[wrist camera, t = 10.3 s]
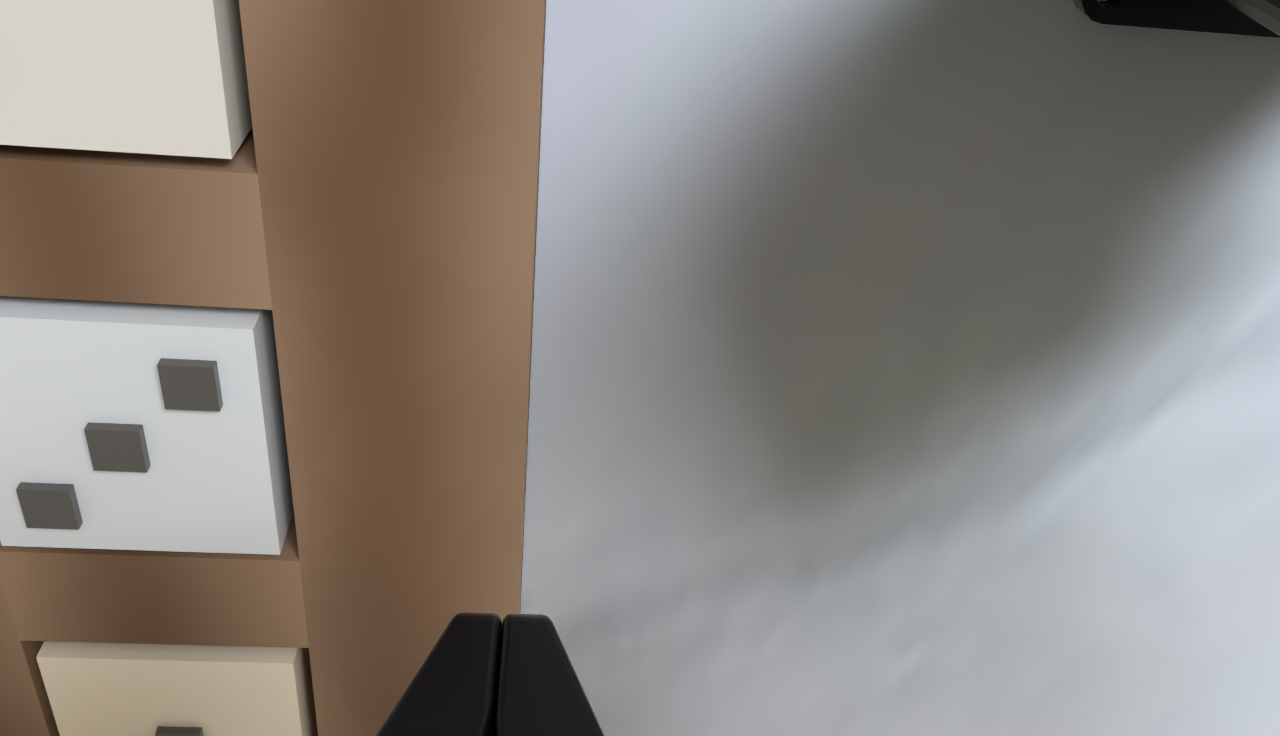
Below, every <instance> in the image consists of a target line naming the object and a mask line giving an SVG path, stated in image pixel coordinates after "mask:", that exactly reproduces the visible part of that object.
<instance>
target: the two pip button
mask: <svg viewBox="0 0 1280 736" xmlns="http://www.w3.org/2000/svg"><path fill="white" fill-rule="evenodd" d="M251 128H252V118H251V109H250V100H249V90H248V81H247V72H246V63H245V53H244V44H243V35H242V25H241V16H240V7H239V0H0V145H15V146H30V147H46V148H62V149H78V150H94V151H110V152H126V153H142V154H158V155H174V156H190V157H206V158H222V159H232V158H233V157H234V155H235V153H236V152H237V150H238V149H239V147H240V145H241V144H242V142H243V141H244V139H245V137H246V136H247V134H248V133H249V131H250V129H251Z"/></svg>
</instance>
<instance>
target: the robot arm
mask: <svg viewBox="0 0 1280 736" xmlns="http://www.w3.org/2000/svg"><path fill="white" fill-rule="evenodd" d="M1074 1H1075V4H1076V7H1077V8H1078V9H1079V10H1080V11H1081V12H1082V13H1083V14H1085V15H1086V16H1087V17H1088V18H1090V19H1091V20H1092V21H1095V22H1098V23H1102V24H1111V25H1124V26H1137V27H1150V28H1162V29H1175V30H1188V31H1201V32H1214V33H1226V34H1239V35H1252V36H1265V37H1278V38H1280V0H1107V1H1103V2H1097V0H1074ZM376 736H604V734H603V732H602V730H601V728H600V725H599V723H598V721H597V719H596V717H595V715H594V712H593V710H592V708H591V706H590V704H589V701H588V699H587V697H586V695H585V693H584V690H583V688H582V686H581V684H580V682H579V680H578V677H577V675H576V673H575V671H574V669H573V666H572V664H571V662H570V660H569V658H568V655H567V653H566V651H565V649H564V647H563V644H562V642H561V640H560V638H559V636H558V634H557V631H556V629H555V627H554V625H553V623H552V621H551V620H550V619H549V618H548V617H547V616H545V615H531V614H508V615H507V616H505V617H504V619H503V622H502V620H501V618H500V616H498V615H497V614H494V613H458V614H456V615H455V616H454V617H453V618H452V619H451V620H450V622H449V623H448V625H447V626H446V628H445V629H444V631H443V633H442V634H441V636H440V637H439V639H438V640H437V642H436V643H435V645H434V646H433V648H432V649H431V651H430V653H429V654H428V656H427V657H426V659H425V660H424V662H423V663H422V665H421V666H420V668H419V670H418V671H417V673H416V674H415V676H414V677H413V679H412V680H411V682H410V683H409V685H408V686H407V688H406V690H405V691H404V693H403V694H402V696H401V697H400V699H399V700H398V702H397V703H396V705H395V706H394V708H393V710H392V711H391V713H390V714H389V716H388V717H387V719H386V720H385V722H384V723H383V725H382V727H381V728H380V730H379V731H378V733H377V734H376Z"/></svg>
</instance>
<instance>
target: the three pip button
mask: <svg viewBox="0 0 1280 736" xmlns="http://www.w3.org/2000/svg"><path fill="white" fill-rule="evenodd" d="M293 512H294V507H293V498H292V488H291V479H290V470H289V461H288V451H287V442H286V433H285V424H284V414H283V405H282V396H281V387H280V377H279V368H278V359H277V350H276V340H275V331H274V322H273V313H272V310H264V309H245V308H225V307H206V306H187V305H167V304H148V303H128V302H109V301H89V300H70V299H50V298H31V297H11V296H0V541H1V545H2V546H23V547H54V548H85V549H115V550H146V551H177V552H207V553H238V554H269V555H280V553H281V550H282V547H283V544H284V541H285V538H286V534H287V531H288V528H289V525H290V522H291V518H292V515H293Z"/></svg>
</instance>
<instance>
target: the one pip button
mask: <svg viewBox="0 0 1280 736" xmlns="http://www.w3.org/2000/svg"><path fill="white" fill-rule="evenodd" d="M36 659H37V662H38V665H39V669H40V672H41V675H42V678H43V682H44V685H45V688H46V692H47V695H48V698H49V701H50V705H51V708H52V711H53V715H54V718H55V721H56V724H57V728H58V731H59V734H60V736H318V729H317V720H316V711H315V701H314V692H313V683H312V674H311V664H310V655H309V648H292V647H253V646H214V645H175V644H135V643H96V642H57V641H44V643H43V645H42V647H41V649H40V651H39V652H38V654H37V656H36Z"/></svg>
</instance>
